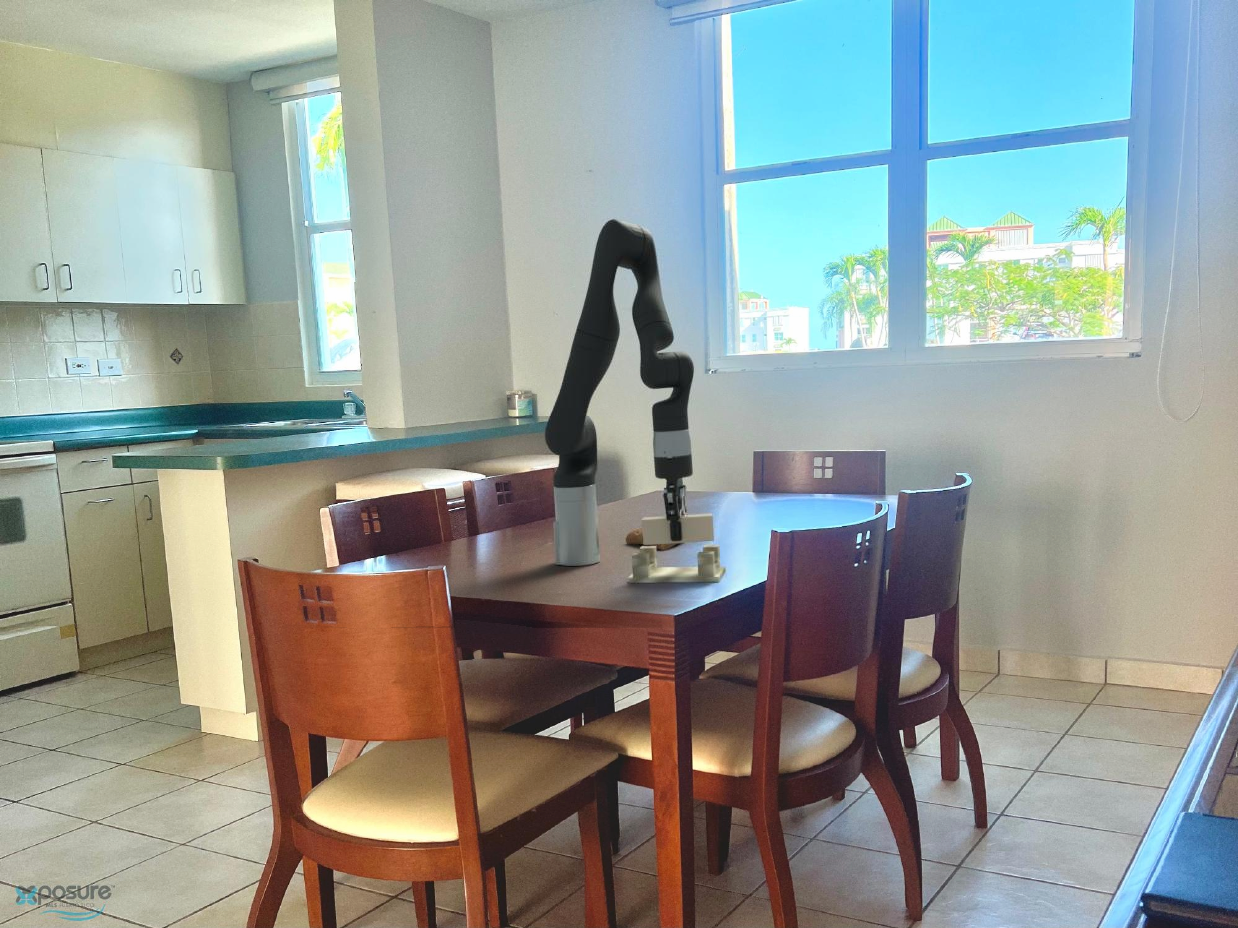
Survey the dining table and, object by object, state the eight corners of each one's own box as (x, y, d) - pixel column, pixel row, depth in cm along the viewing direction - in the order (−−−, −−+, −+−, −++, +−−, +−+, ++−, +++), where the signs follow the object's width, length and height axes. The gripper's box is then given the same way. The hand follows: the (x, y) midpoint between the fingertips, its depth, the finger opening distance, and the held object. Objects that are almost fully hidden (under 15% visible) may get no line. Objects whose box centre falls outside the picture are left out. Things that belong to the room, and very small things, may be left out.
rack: (628, 582, 202) (626, 555, 202) (638, 572, 212) (637, 546, 212) (719, 581, 198) (717, 553, 198) (725, 571, 208) (724, 544, 207)
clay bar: (643, 544, 204) (641, 520, 203) (644, 541, 207) (643, 517, 207) (714, 540, 202) (712, 515, 202) (714, 538, 206) (712, 513, 205)
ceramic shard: (709, 521, 244) (659, 539, 236) (711, 546, 246) (662, 565, 237) (670, 508, 255) (622, 525, 247) (672, 533, 257) (624, 550, 249)
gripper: (659, 451, 211) (665, 533, 212) (647, 457, 197) (653, 545, 199) (696, 449, 209) (701, 532, 211) (686, 455, 196) (692, 544, 197)
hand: (678, 538), depth 205 cm, fingers closed on clay bar, 3 cm apart
